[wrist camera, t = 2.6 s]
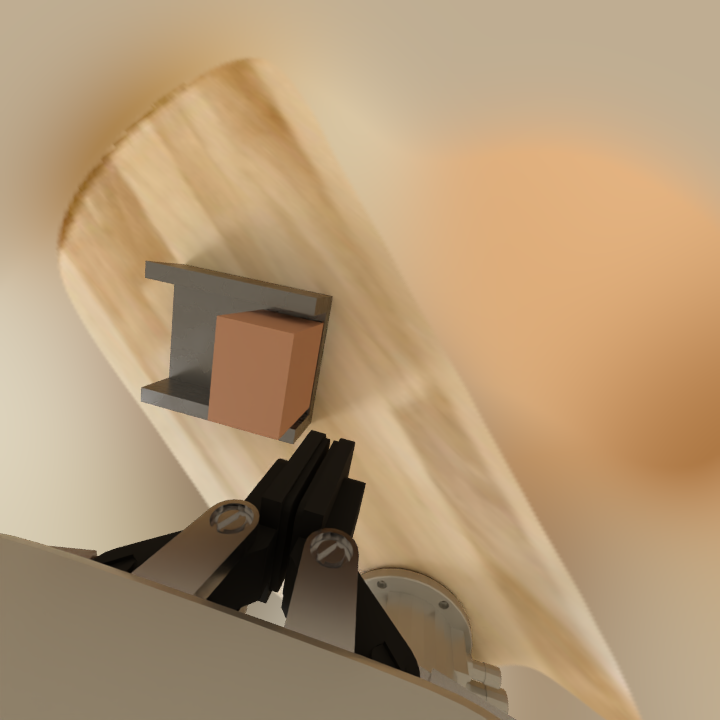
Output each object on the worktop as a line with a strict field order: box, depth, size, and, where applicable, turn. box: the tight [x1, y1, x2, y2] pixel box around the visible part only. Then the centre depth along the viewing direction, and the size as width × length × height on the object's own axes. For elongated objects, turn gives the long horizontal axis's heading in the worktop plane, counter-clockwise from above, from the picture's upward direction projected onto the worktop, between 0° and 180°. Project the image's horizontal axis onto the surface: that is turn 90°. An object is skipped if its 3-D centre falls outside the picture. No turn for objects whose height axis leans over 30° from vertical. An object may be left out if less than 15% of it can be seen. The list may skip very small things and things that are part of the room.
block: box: [208, 309, 324, 440], centre depth 24 cm, size 5×7×6 cm
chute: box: [141, 261, 333, 444], centre depth 26 cm, size 13×11×4 cm
